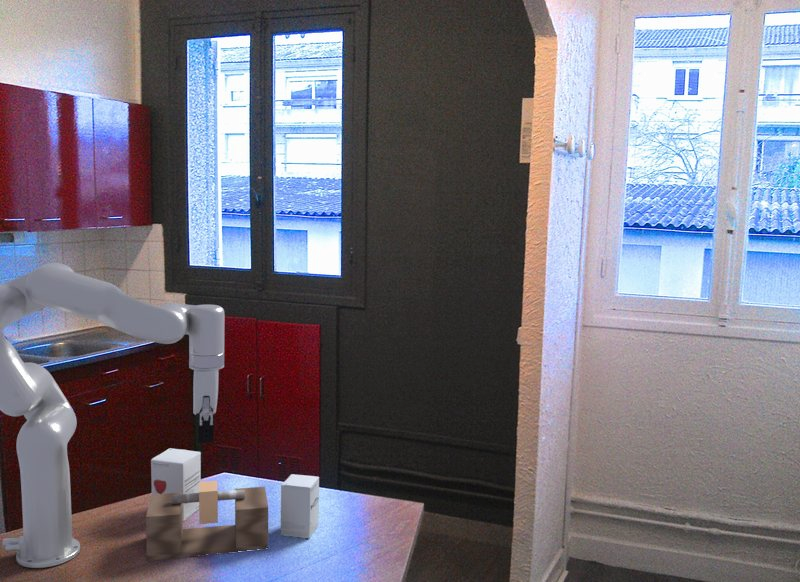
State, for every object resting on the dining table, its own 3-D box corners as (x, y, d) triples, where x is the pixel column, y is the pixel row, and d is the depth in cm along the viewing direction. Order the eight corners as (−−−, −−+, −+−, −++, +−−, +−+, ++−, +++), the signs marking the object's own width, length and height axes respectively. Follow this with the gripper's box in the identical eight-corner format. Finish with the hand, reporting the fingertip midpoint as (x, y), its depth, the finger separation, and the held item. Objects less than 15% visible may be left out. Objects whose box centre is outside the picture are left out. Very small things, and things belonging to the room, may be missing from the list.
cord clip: (199, 524, 163) (199, 492, 162) (199, 512, 169) (199, 481, 168) (217, 522, 164) (217, 490, 163) (217, 511, 170) (217, 480, 169)
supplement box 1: (150, 517, 180) (149, 459, 178) (170, 503, 188) (169, 447, 186) (183, 522, 178) (182, 463, 176) (202, 507, 186) (201, 450, 184)
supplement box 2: (309, 539, 170) (310, 487, 169) (279, 536, 172) (279, 484, 170) (319, 525, 178) (320, 476, 176) (290, 522, 179) (290, 473, 177)
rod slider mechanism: (146, 560, 159) (145, 508, 157) (151, 535, 170) (150, 486, 169) (268, 549, 165) (268, 498, 163) (264, 526, 177) (264, 478, 175)
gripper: (190, 352, 170) (190, 424, 172) (187, 370, 153) (187, 449, 155) (223, 352, 171) (223, 422, 173) (224, 369, 155) (224, 447, 157)
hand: (206, 435), depth 164 cm, fingers open, 9 cm apart
